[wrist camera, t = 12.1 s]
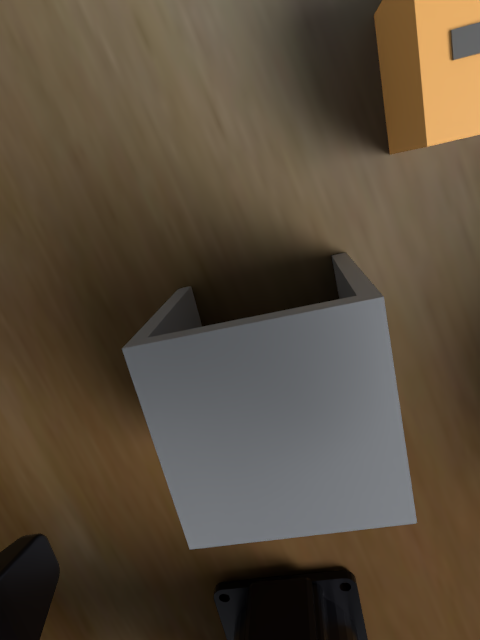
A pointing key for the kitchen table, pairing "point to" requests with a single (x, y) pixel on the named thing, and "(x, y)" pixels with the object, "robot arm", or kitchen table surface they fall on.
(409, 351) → the kitchen table surface
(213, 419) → the grey bracket
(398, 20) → the orange cube
